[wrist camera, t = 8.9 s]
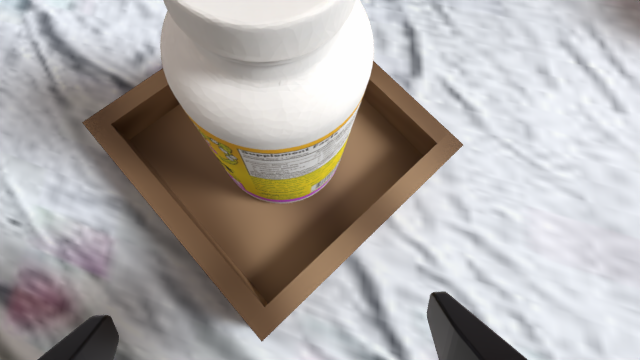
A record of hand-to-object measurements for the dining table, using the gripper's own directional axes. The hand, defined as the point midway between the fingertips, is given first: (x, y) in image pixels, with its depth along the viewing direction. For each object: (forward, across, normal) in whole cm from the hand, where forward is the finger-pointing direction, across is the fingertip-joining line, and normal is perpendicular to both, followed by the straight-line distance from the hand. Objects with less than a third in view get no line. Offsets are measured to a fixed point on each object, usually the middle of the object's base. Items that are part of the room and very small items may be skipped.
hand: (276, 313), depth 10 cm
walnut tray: (+12, 0, 0) cm, 12 cm away
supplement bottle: (+12, 0, 0) cm, 12 cm away
